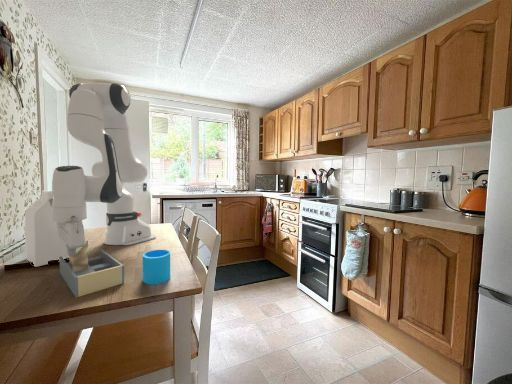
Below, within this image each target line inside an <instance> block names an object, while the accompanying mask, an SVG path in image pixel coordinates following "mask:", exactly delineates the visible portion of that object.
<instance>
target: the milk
mask: <svg viewBox="0 0 512 384" xmlns="http://www.w3.org/2000/svg"><path fill="white" fill-rule="evenodd" d="M53 203H54V197H53V194H52V190H48V189H47V190H44V189H43V190H42V191H41V196H40V198H39V199H36V200H35V201H34V202H32V203H31V205H30V206H28V208H26V209H25V212H24V220H25V221H24V230H25V231H24V234H25V235H24V239H25V240H24V241H25V242H24V249H25V250H24V255H25V256H24V258H25V259H27V260H29V261H31V262H33V264H34V265H33V266H34V267H35V268H36V267H40V266H45V265H49V264H48V261H50V260H53V259H58V258H59V257H61V256H62V258H63V257H67V256H69V255H68V254H67V247H66V243H65V242H64V241H63V240H62V239H61V238H60V236H59V233H58V228H57V222H55V221H53ZM27 260H26V261H27Z"/></svg>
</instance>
